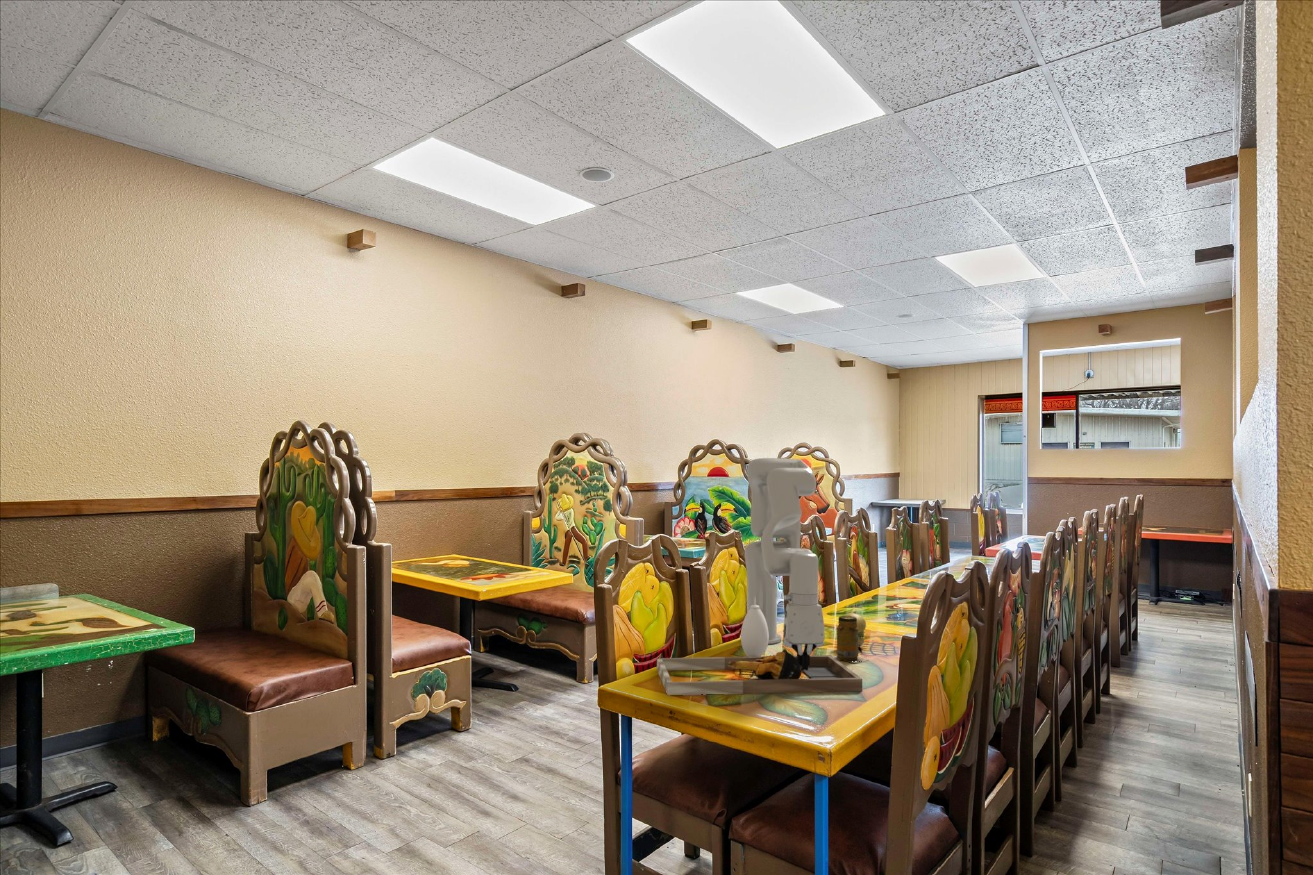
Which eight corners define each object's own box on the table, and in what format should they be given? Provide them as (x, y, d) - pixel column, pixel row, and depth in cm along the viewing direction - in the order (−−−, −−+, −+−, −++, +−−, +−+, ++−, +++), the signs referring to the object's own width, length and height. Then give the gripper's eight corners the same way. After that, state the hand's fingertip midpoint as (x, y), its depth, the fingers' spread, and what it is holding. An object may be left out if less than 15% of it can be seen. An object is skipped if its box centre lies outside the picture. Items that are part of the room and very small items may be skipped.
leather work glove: (806, 671, 182) (738, 646, 183) (791, 703, 186) (725, 678, 187) (806, 649, 190) (742, 625, 192) (792, 680, 194) (729, 656, 196)
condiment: (845, 653, 216) (845, 613, 217) (869, 660, 210) (869, 618, 210) (830, 657, 212) (830, 616, 212) (854, 664, 205) (854, 622, 206)
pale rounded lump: (859, 644, 228) (859, 606, 228) (870, 650, 220) (870, 611, 221) (836, 645, 226) (837, 606, 227) (846, 651, 219) (846, 611, 220)
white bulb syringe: (755, 663, 204) (756, 600, 205) (735, 658, 210) (736, 596, 210) (773, 659, 209) (774, 596, 210) (753, 653, 215) (753, 593, 216)
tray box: (656, 669, 197) (657, 658, 197) (830, 665, 203) (830, 655, 203) (667, 695, 175) (667, 683, 175) (862, 691, 181) (862, 678, 181)
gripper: (780, 602, 187) (780, 673, 186) (835, 601, 189) (835, 672, 188) (772, 596, 194) (771, 665, 193) (825, 596, 196) (825, 664, 195)
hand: (803, 668), depth 191 cm, fingers closed
